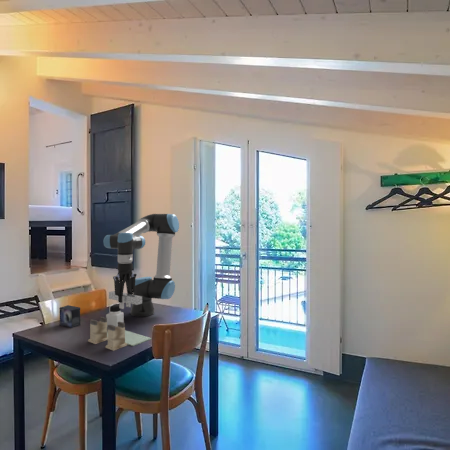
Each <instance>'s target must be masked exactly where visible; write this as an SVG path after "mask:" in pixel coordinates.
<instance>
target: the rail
mask: <svg viewBox="0 0 450 450" xmlns="http://www.w3.org/2000/svg"><path fill="white" fill-rule="evenodd" d="M123 296H124V303H125V304H126V303H131V305H132V304H135V305H138V304H142V296H137V295H133V294H128V293H127V292H123ZM108 299H110V300H114V301H117V302H118V296H117V295H115V290H112V291H108Z"/></svg>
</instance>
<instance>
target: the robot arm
mask: <svg viewBox="0 0 450 450" xmlns="http://www.w3.org/2000/svg"><path fill="white" fill-rule="evenodd" d="M179 229H180V221H179V219H178V217H177V215H176V214H174V213H152V214H147V215H145V216H142V217H141V218H139V219H137V220H136V222H134V223H133V224H131V225H130V226H128V227H126V228H124V229H122V230H120V231H118V232H117V233H114V234H107V235H105V236H104V238H103V241H102V242H103V246H104V247H105V248H107V249H111V250H112V249H113V250H115V249H116V250H117V271H118V272H117V275H115V276H112V279H113V282H114V291H115V295H117V296H118V301H117V302H118V303H119V308H120V310H125V308H130V316H133V317H141V318H143V317H149V316H152V315H154V314H155V308H154V305H153V301H152V300H153V299H158V300H169V299H171V298H172V297H173V295H174V294H175V293H174V292H175V289H176V284H175V281H174V280H173V277H172V276H171V265H172V263H171V262H172V250H173V249H172V248H173V238H174V237H175V236H176V233H179V232H178V231H179ZM148 232H149V233H151V232H155V233H156V235H157V236H158V245H157V246H158V247H157V260H156V274H155V275H154V276H144V277H137V273H135V272H133V271H132V270H133V268H134V264H133V257H134V254H133V253H134V251H135V250H140V249H143V248H144V247H146V246H145V245H146V239H145V237H144V236H143V235H141V234H146V233H148ZM125 287H126V293H127V294H132V295H137V296H142V304H138V305H135V304H131V303H126V302H124V296H123V293H124V290H125V289H124V288H125Z"/></svg>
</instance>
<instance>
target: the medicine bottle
mask: <svg viewBox="0 0 450 450" xmlns="http://www.w3.org/2000/svg"><path fill="white" fill-rule="evenodd" d="M108 310H109V312H108V313H107V314H105V318H107V328H108V325H113V326H115V327H117V326H118V322H123V323H125V320H124V319H125V318H124V316H125V315H124V312H123V311H121V309H120V308H119V304H118V303H113V304H110V305H109V309H108Z"/></svg>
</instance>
